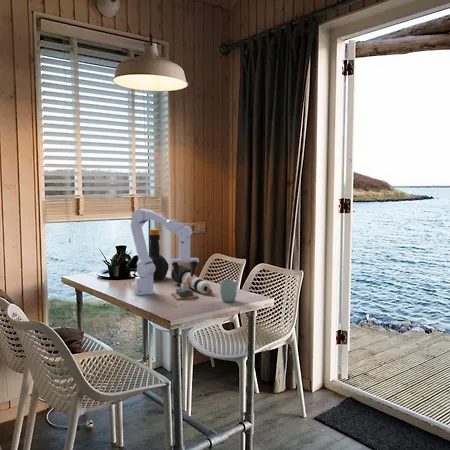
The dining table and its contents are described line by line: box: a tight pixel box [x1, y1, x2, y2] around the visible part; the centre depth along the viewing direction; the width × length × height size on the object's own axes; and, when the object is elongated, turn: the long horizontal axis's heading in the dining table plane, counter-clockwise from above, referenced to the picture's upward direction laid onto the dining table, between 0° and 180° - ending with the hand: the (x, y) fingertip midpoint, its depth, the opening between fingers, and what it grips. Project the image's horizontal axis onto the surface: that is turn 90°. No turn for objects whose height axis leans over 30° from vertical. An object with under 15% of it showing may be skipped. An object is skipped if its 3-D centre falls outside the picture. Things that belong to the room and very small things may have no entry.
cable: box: [170, 264, 213, 295], centre depth 239 cm, size 10×34×10 cm, turn 34°
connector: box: [180, 281, 190, 291], centre depth 223 cm, size 3×4×7 cm
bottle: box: [148, 228, 170, 282], centre depth 265 cm, size 16×16×30 cm
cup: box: [219, 279, 238, 303], centre depth 215 cm, size 8×8×10 cm
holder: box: [170, 287, 199, 301], centre depth 223 cm, size 11×11×4 cm
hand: (184, 276), depth 223 cm, fingers open, 7 cm apart
